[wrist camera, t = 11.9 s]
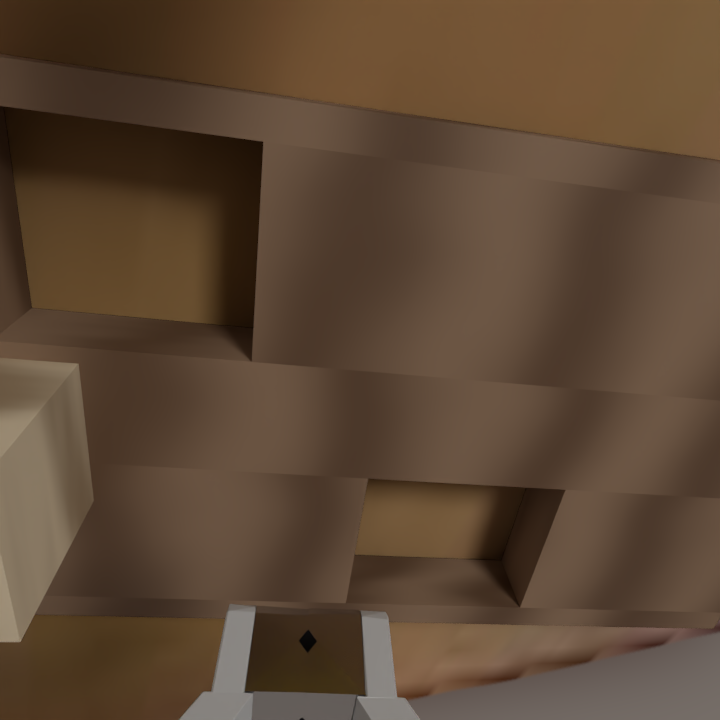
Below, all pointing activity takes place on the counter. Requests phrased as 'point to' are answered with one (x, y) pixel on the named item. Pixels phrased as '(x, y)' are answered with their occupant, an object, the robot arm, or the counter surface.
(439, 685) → the counter surface
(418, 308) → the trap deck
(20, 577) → the block
